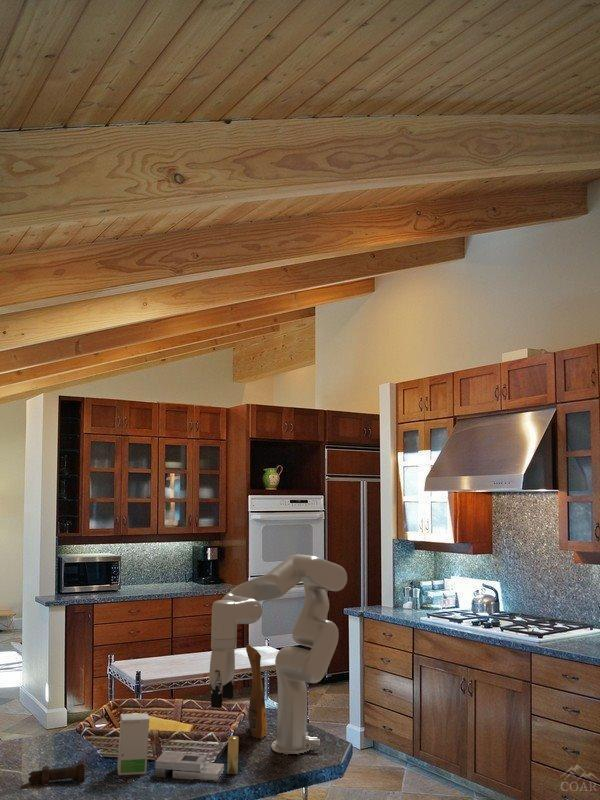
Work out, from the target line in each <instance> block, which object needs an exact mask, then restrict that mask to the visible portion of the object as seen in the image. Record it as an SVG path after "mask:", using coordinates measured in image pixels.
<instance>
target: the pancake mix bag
mask: <svg viewBox="0 0 600 800" xmlns="http://www.w3.org/2000/svg"><path fill="white" fill-rule="evenodd" d="M245 652H246V654H247V657H248V660H249V664H250V667H251V674H252V675H251V676H252V677H251V678H252V679H251V680H252V681H251V682H252V685H251V691H250V696H249V697H250V698H249V705H248V715H247V716H248V724H249V729H250V730H249V731H250V733H251V735H252V736H253V737H252V736H251V737H252V738H254V737H256V738H255V739H258V738H260V739H259V740H262V739H263V738H265V737H264V736H266V737H267V731H268V721H267V719H268V718H267V709H266V700H265V692H264V687H263V686H264V685H263V681H262V673H261V662H262V661H261V659H262V655H261V654H260V653H259V651H258V650H257V649H256V648H254V647H252V645H250V643H248V644H247V645H245ZM262 737H263V738H262Z"/></svg>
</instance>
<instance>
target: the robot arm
mask: <svg viewBox="0 0 600 800" xmlns="http://www.w3.org/2000/svg"><path fill="white" fill-rule="evenodd" d="M301 582H302V585H303V588H304V593H305V594H304V595H305V598H304V599H305V600H304V603H303V605H302V608H301V609H300V613H299V614H298V617H297V620H296V622H295V624H294V627H293V628H292V635H291V636H292V639H293V641H294V643H296V644H297V645H300V646H304V647H306V648H307V647H308V648H311V649H305V648H303V647H302V648H301V647H298V646H292V645H289V646H284V647H281V649H280V650H278V651H277V654H276V655H275V660H274V662H275V673H276V679H277V706H276V707H277V709H276V738H275V739H276V740H273V742H272V743H271V750H272V751H274V752H276V753H278V754H281V753H283V754H282V755H288V754H297V755H300V754H299V753H303V754H305V753H304V752H306V753H308V752H309V750H310V751H311V749H310V748H311V747H312V746H318V747H319V746H320V743H321V740H320V739H321V738H318V737H317V736H313V737H312V736H310V735H309V732H308V731H307V718H308V717H307V714H308V713H307V712H308V709H307V708H308V688H307V685H306V683H309V684H310V683H311V684H316V683H319V682H320V681H321V680H322V679H323V678H324V677H325V675H326V673H327V671H328V668H329V666H330V664H331V661H332V658H333V656H334V654H335V651H336V648H337V645H338V642H339V634H340V633H339V628H338V626H337V625H336V623H335V622H334V621H331V620H330V619H329V620H328V619H327V616H328V613H329V609H330V600H329V597H328V594H327V591H331V592H339V591H342V590H343V589H344V588H345V587H346V585H347V583H348V573H347V571H346V569H345V568H344V567H343V566H341V565H339V564H337V563H334V562H332V561H329V560H326V559H324V558H322V557H319V556H315V555H307V554H300V553H299V554H297V553H295V554H292V555H290V556H288V557H286V558H285V559H284V560H283V561H282V562H280V563H279V564H278V565H277V566H275V567H273V569H271V570H270V571H268V572H267V573H265V574H264V575H261V576H258V577H255V578H253V579H250V580H247V581H245V582H242V583H240V584H238V585H237V586H235V587H234V588H232V589H231V590H230V591H228V592H227V593H226V594H224V596H223V597H222V598H221V599H219V600H215V601H214V602H213V603H212V606H211V630H210V631H211V632H210V633H211V635H210V637H211V638H210V641H211V642H210V649H211V653H210V662H209V672H208V673H209V674H208V684H209V685H210V689H211V691H210V694H211V695H210V697H211V698H210V699H211V700H210V707H211V708H215V709H222V708H223V699H233V698H234V689H235V688H234V683H235V681H234V678H235V672H236V670H235V669H236V668H235V667H236V661H235V660H236V656H235V654H236V653H235V650H237V641H238V638H237V635H238V625H250V624H255V623H257V622H258V621H259V620H260V619H261V617H262V615H263V607H262V604H261V602H263V601H270V600H275V599H276V600H277V599H279V598H281V597H283V596H284V595H286V594H287V593H288V592H289V591H291V590H292V589H294V587H295V586H296V585H298V584H299V583H301ZM307 751H308V752H307Z"/></svg>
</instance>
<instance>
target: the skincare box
mask: <svg viewBox="0 0 600 800" xmlns="http://www.w3.org/2000/svg"><path fill="white" fill-rule="evenodd" d="M119 715H120V720H119V721H120V722H119V738H118V750H117V765H116V767H117V774H118V776H129V775H130V776H131V775H146V774H147V768H148V767H147V764H148V751H149V750H148V748H149V735H150V734H149V733H150V732H149V731H150V730H149V729H150V716H149V713H136V712H135V713H133V712H131V713H121V714H119Z"/></svg>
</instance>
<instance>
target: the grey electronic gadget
mask: <svg viewBox="0 0 600 800" xmlns="http://www.w3.org/2000/svg"><path fill="white" fill-rule="evenodd" d="M183 753H184V752H176V751H175V752H174V751H163V752H162V753H161V754H160V755H159V757H157V759H156V760H155V764H154V765H155V766H154V777H155V778H156V777H157V778H166V777H167V776H168V774H169V773H170V772H171V770H172V779H182V780H184V779H185V780H193V779H204V780H203V781H207V780H214V781H213V782H219V780H218V779H220V778H221V777H222V775H223V774H224V772H223V771H225V763H218V762H217V763H215V762H206V760H207V761H208V754H204V755H202V754H201V753H190V754H183ZM199 754H201V755H199ZM221 774H222V775H221ZM220 776H221V777H220ZM219 777H220V778H219Z"/></svg>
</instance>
